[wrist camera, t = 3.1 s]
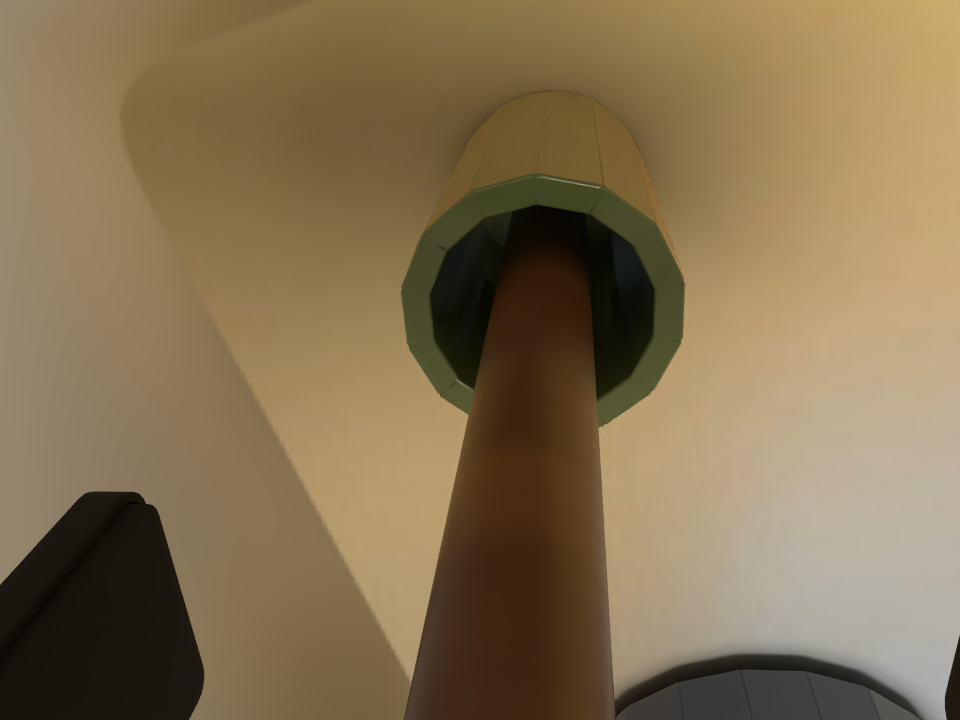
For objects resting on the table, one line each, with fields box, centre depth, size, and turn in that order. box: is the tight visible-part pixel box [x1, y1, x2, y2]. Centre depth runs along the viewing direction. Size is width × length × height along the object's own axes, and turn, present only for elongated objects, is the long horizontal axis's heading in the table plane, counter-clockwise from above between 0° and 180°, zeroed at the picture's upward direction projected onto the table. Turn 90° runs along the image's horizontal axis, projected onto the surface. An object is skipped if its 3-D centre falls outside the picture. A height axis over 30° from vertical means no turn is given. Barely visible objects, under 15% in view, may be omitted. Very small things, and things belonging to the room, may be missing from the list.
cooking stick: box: [404, 205, 615, 720], centre depth 16 cm, size 2×2×20 cm
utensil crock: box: [401, 91, 685, 427], centre depth 21 cm, size 6×6×10 cm
